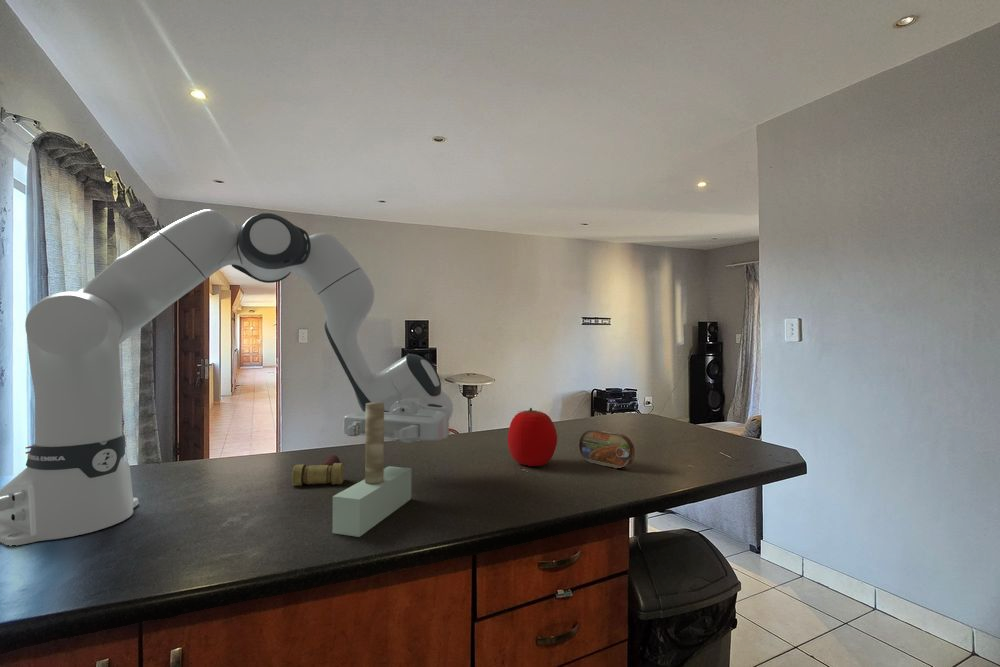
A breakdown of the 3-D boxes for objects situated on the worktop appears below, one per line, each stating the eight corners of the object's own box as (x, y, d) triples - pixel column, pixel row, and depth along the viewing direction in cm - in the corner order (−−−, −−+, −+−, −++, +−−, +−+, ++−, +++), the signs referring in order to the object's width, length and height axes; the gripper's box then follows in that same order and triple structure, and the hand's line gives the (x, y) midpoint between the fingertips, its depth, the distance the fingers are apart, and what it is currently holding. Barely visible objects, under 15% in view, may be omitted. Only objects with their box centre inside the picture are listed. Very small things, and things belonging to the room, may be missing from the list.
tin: (578, 460, 121) (578, 427, 121) (585, 458, 123) (585, 426, 123) (629, 473, 110) (629, 437, 110) (636, 470, 112) (636, 435, 112)
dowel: (361, 483, 82) (361, 404, 82) (371, 477, 85) (371, 401, 85) (377, 485, 81) (377, 405, 81) (386, 479, 85) (387, 402, 84)
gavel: (315, 449, 119) (356, 448, 120) (315, 467, 119) (355, 466, 120) (291, 467, 98) (340, 465, 100) (291, 489, 98) (340, 487, 99)
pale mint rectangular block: (332, 533, 76) (332, 496, 76) (388, 496, 93) (388, 466, 93) (359, 537, 74) (359, 499, 74) (411, 498, 92) (411, 468, 92)
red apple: (498, 466, 115) (498, 408, 115) (519, 455, 125) (519, 402, 125) (545, 473, 109) (546, 413, 109) (563, 462, 119) (563, 406, 119)
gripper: (365, 402, 99) (324, 412, 86) (455, 407, 94) (425, 419, 80) (365, 431, 99) (323, 447, 86) (455, 438, 94) (425, 455, 80)
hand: (373, 433), depth 83 cm, fingers open, 8 cm apart
